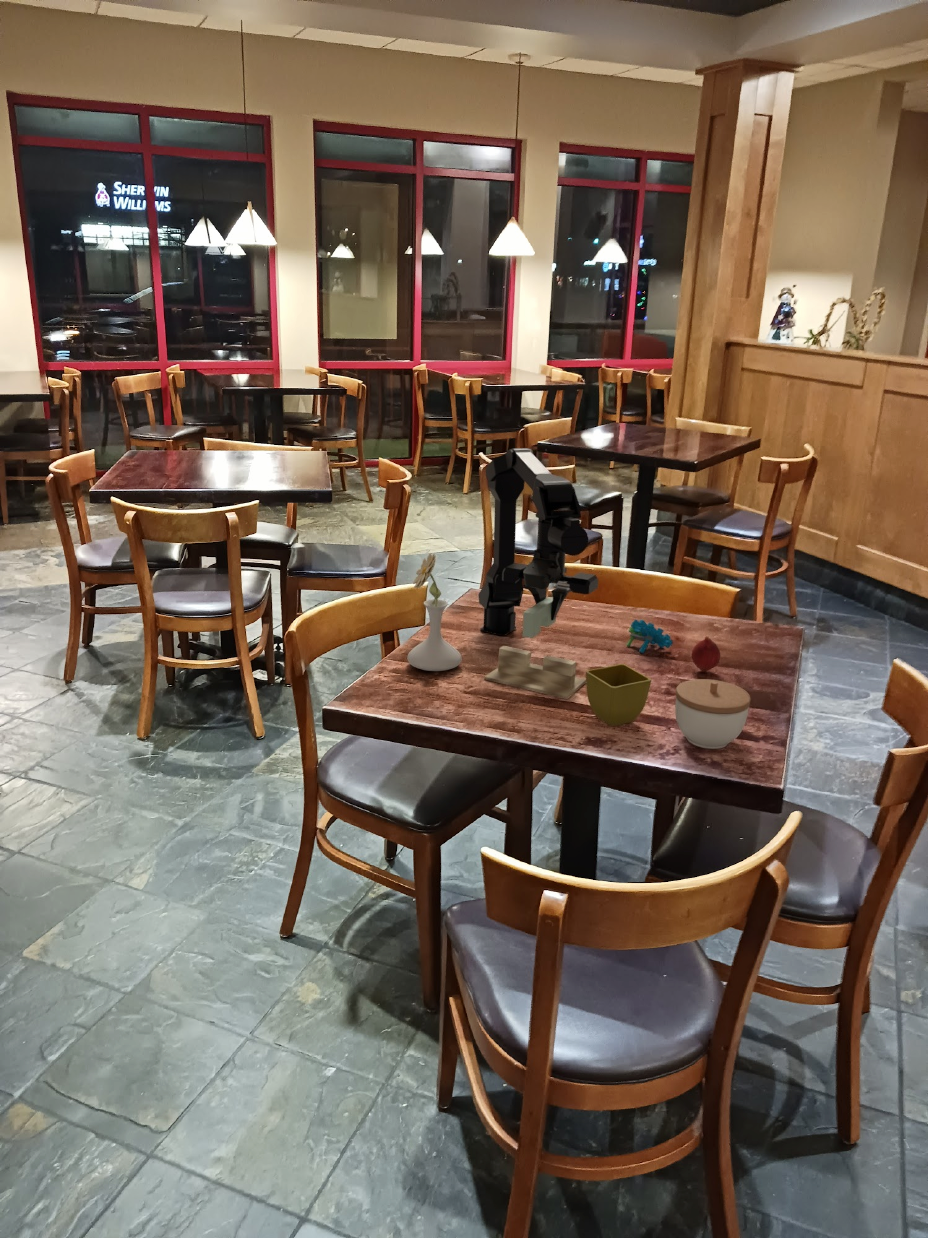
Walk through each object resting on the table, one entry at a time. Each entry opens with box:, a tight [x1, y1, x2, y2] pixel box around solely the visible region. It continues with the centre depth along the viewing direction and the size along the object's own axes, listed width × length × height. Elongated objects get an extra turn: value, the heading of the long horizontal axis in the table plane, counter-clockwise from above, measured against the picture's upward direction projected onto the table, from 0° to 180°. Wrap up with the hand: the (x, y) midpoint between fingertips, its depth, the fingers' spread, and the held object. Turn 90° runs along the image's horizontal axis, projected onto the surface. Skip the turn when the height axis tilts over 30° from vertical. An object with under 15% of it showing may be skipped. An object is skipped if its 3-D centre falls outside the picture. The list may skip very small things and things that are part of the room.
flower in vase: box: [406, 552, 463, 672], centre depth 187 cm, size 13×11×25 cm
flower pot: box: [585, 663, 652, 727], centre depth 168 cm, size 9×9×9 cm
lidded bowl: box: [674, 678, 752, 750], centre depth 161 cm, size 13×13×11 cm
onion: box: [690, 634, 721, 673], centre depth 192 cm, size 6×6×8 cm
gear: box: [626, 619, 674, 654], centre depth 203 cm, size 11×6×10 cm
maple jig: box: [484, 645, 586, 700], centre depth 185 cm, size 18×10×6 cm, turn 61°
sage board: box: [521, 596, 557, 639], centre depth 183 cm, size 2×12×5 cm, turn 152°
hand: (547, 619), depth 187 cm, fingers closed on sage board, 2 cm apart
